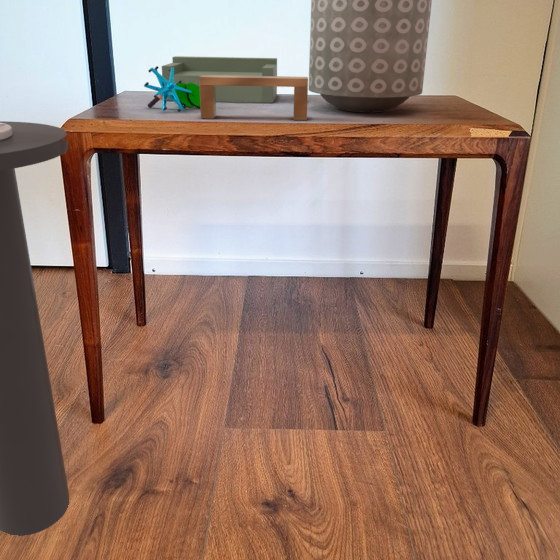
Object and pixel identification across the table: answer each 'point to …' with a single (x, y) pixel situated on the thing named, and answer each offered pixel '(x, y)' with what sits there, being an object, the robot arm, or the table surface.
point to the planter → (368, 52)
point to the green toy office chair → (174, 92)
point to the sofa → (230, 66)
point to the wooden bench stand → (276, 81)
